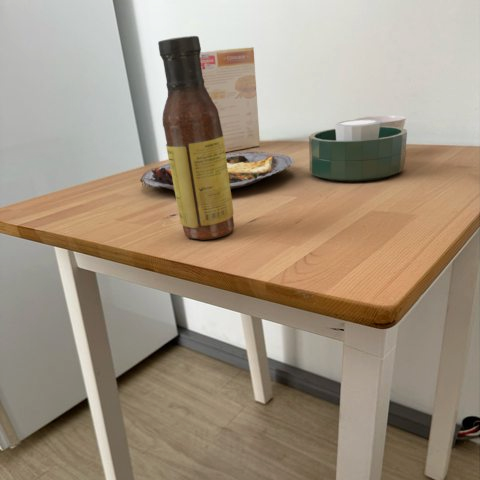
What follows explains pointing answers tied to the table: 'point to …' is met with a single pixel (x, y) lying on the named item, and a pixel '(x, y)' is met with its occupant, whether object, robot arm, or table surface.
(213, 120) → the sauce bottle
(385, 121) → the pale round bowl
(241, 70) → the coffeecake box
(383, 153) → the green round tub
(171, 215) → the table surface
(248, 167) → the food plate
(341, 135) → the white faceted cup
